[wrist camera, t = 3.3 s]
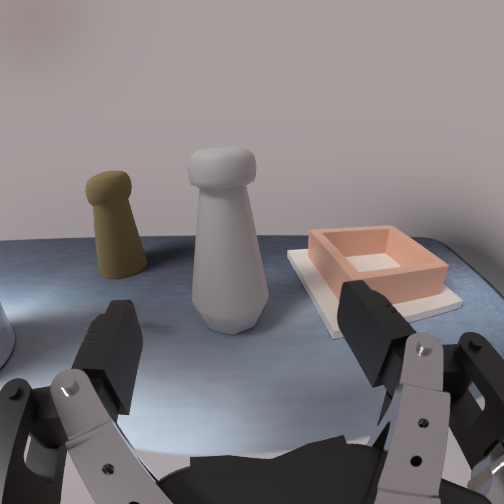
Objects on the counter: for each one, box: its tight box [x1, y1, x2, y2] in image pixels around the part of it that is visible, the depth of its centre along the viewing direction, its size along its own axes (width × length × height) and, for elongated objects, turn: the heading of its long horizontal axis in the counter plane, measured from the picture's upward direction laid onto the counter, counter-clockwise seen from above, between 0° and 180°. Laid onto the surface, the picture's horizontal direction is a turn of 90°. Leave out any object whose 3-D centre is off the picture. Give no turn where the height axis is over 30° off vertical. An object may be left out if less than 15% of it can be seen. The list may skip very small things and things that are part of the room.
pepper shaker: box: [85, 171, 147, 279], centre depth 29 cm, size 6×6×11 cm
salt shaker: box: [188, 146, 269, 335], centre depth 20 cm, size 6×6×13 cm
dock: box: [287, 225, 463, 339], centre depth 26 cm, size 14×14×4 cm
